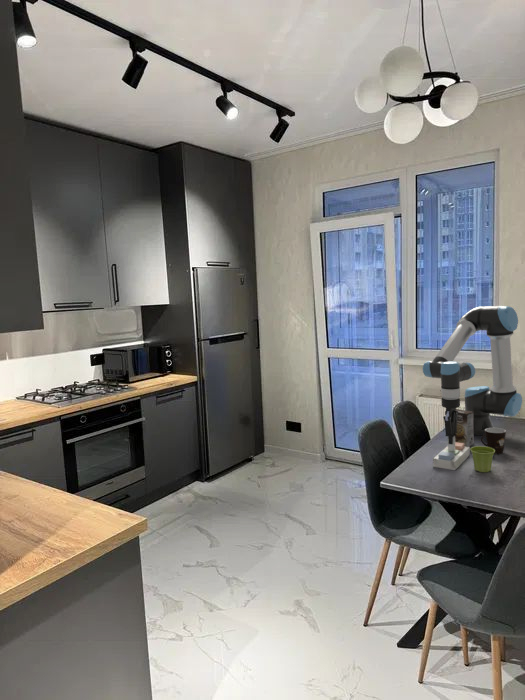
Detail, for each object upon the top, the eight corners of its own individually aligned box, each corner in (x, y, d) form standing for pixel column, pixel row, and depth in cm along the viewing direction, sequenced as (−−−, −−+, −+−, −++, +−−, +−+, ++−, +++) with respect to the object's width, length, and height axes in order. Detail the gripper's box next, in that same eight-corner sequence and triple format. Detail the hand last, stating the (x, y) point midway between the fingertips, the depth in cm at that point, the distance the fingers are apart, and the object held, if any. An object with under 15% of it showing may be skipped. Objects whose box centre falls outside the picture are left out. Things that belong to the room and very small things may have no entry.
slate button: (442, 457, 219) (442, 451, 219) (454, 459, 216) (454, 452, 216) (438, 461, 215) (438, 454, 215) (450, 463, 212) (450, 456, 212)
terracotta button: (453, 448, 231) (453, 441, 231) (464, 449, 228) (464, 443, 228) (449, 451, 227) (449, 444, 227) (461, 452, 224) (461, 446, 224)
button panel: (449, 451, 233) (449, 444, 233) (469, 454, 228) (469, 447, 227) (433, 466, 216) (433, 458, 216) (454, 470, 211) (454, 462, 210)
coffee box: (449, 443, 245) (448, 411, 243) (456, 440, 249) (455, 408, 247) (467, 447, 238) (466, 413, 236) (474, 444, 242) (473, 411, 240)
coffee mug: (502, 448, 233) (501, 427, 232) (509, 454, 225) (508, 432, 224) (475, 449, 234) (475, 428, 233) (481, 455, 226) (481, 433, 225)
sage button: (448, 455, 225) (447, 448, 225) (459, 456, 222) (459, 450, 222) (444, 458, 221) (444, 451, 221) (456, 460, 218) (455, 453, 218)
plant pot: (492, 466, 212) (492, 446, 211) (497, 474, 203) (497, 453, 202) (468, 465, 214) (468, 446, 213) (472, 473, 205) (472, 453, 204)
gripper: (446, 394, 226) (447, 445, 229) (436, 400, 216) (438, 453, 219) (464, 395, 222) (464, 447, 224) (454, 401, 211) (455, 456, 214)
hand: (451, 450), depth 221 cm, fingers closed
